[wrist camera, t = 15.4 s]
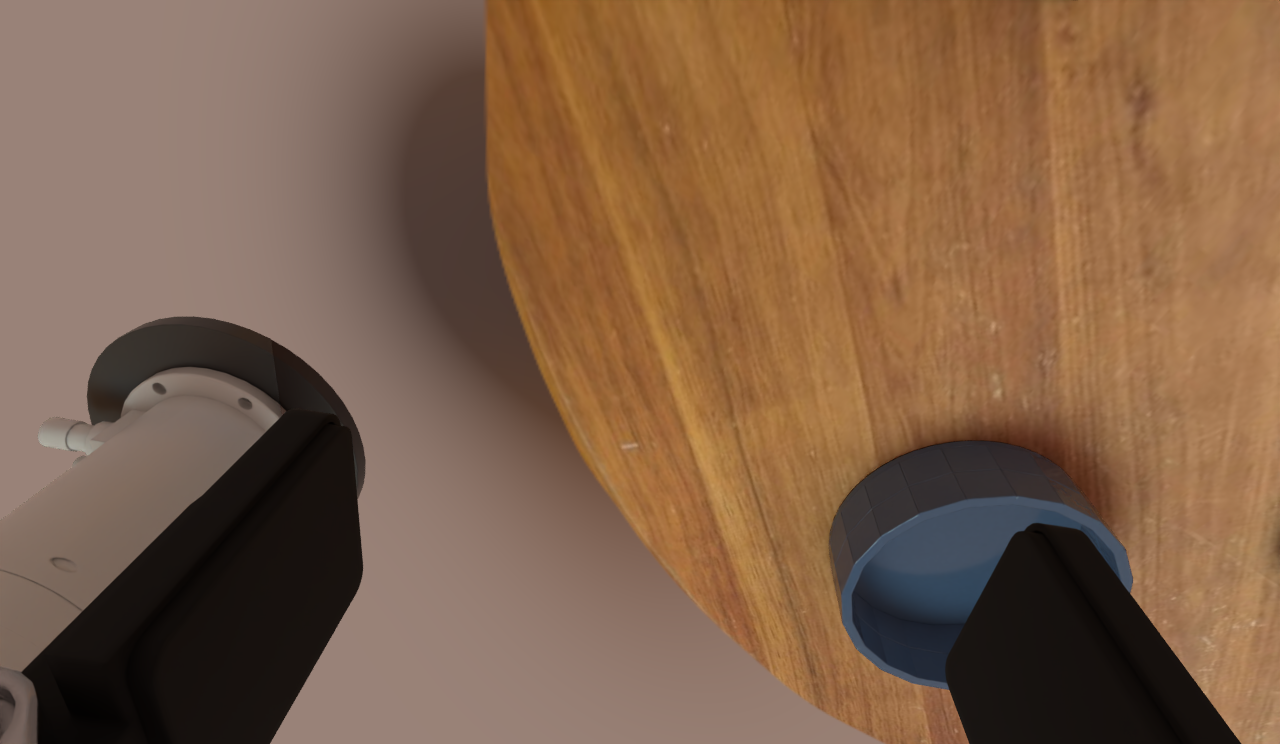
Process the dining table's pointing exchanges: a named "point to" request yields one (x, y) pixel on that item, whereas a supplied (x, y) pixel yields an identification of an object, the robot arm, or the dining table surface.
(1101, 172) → the dining table surface
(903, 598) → the serving bowl
